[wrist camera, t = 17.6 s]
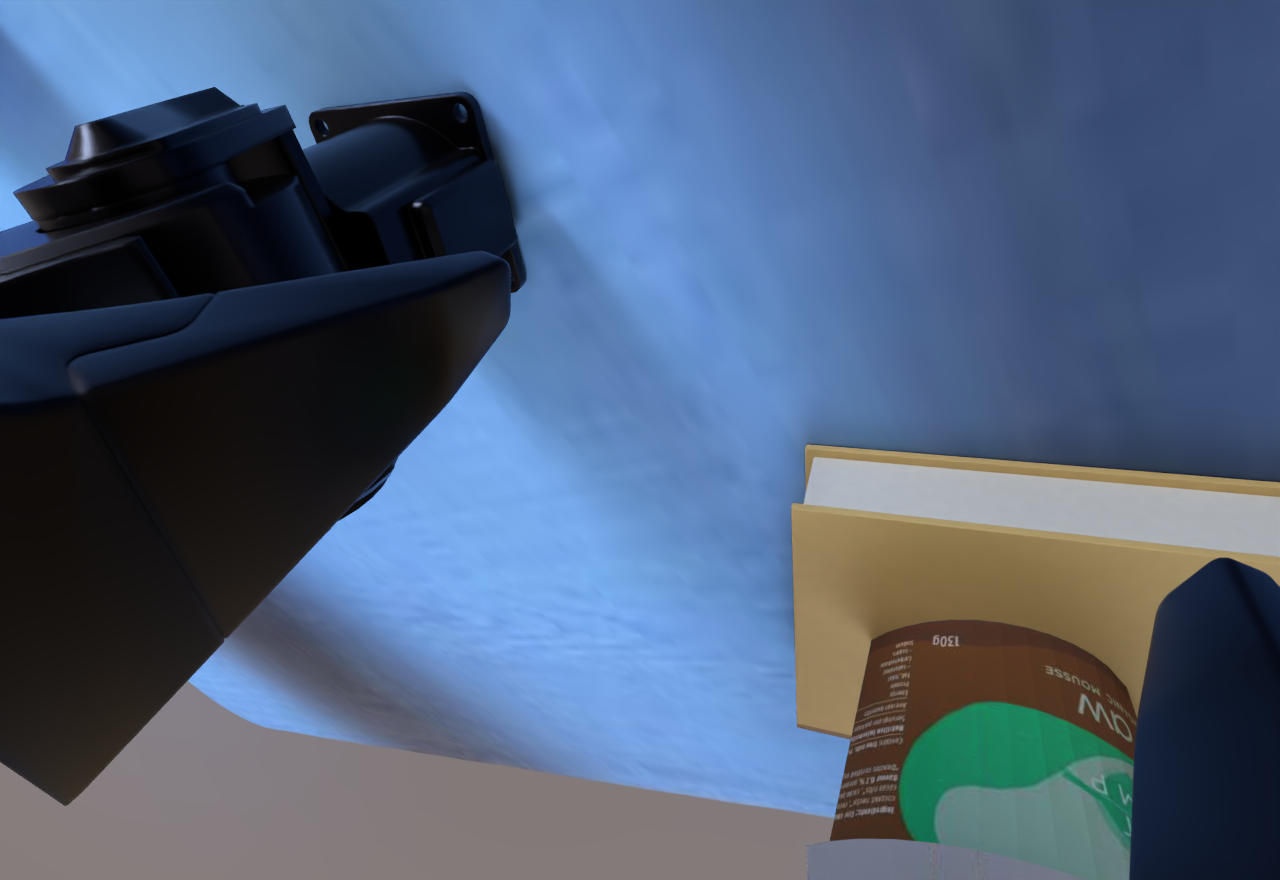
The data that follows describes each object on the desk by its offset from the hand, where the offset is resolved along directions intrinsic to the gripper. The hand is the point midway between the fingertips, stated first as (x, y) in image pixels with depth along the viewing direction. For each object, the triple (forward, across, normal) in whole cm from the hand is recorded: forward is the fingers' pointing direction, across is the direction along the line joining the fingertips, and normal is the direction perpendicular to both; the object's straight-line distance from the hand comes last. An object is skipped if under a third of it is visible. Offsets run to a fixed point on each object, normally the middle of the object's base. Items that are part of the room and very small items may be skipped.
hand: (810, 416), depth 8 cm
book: (+14, -10, +15) cm, 22 cm away
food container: (+10, -10, +14) cm, 20 cm away
